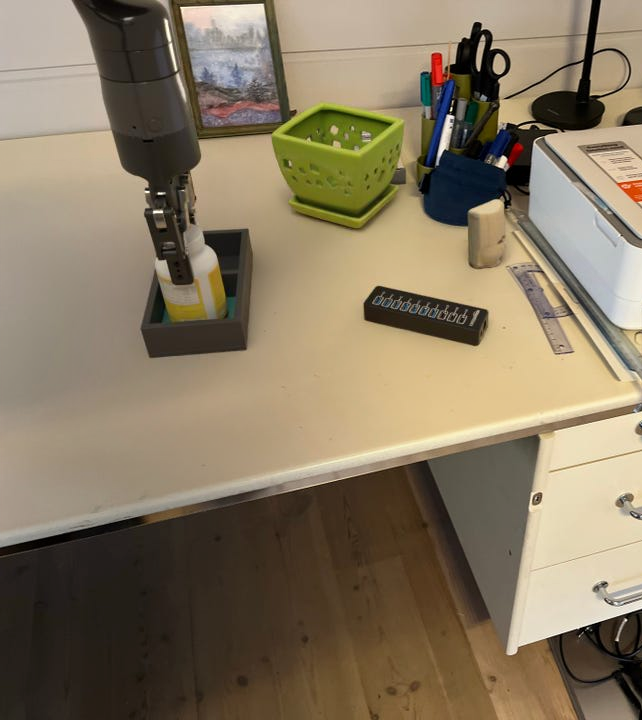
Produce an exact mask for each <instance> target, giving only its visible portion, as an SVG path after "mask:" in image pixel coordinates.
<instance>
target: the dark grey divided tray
mask: <svg viewBox="0 0 642 720" xmlns="http://www.w3.org/2000/svg"><path fill="white" fill-rule="evenodd" d="M202 232H203V236H204V241H205V245H207V246H209V247H210V248H211V249H213V251H214V252H215V254H216V256H217V259H218V264H219V268H220V273H221V278H222V283H223V287H224V292H225V296H226V301H227V306H228V311H229V315H228V318H222V319H209V320H195V321H182V322H171V321H170V318H169V315H168V311H167V308H166V304H165V301H164V297H163V294H162V290H161V287H160V283H159V280H158V276H157V273H156V269H155V268H154V271H153V276H152V280H151V284H150V288H149V293H148V297H147V301H146V305H145V308H144V309H145V310H144V313H143V317H142V322H141V324H140V333H141V335H142V339H143V342H144V344H145V349H146V351H147V355H148V357H149V359H151V358H163V357H176V356H188V355H199V354H210V353H211V354H212V353H223V352H237V351H247V348H248V347H247V346H248V332H249V331H248V330H249V319H250V317H249V316H250V303H251V288H252V275H253V274H252V272H253V261H254V259H253V258H254V254H253V253H254V252H253V247H252V242H251V237H250V230H249V228H248V227H247V228H230V229H211V230H202Z"/></svg>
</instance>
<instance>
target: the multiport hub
mask: <svg viewBox="0 0 642 720" xmlns="http://www.w3.org/2000/svg"><path fill="white" fill-rule="evenodd" d="M362 308H363V319H364V320H365V321H367V322H371V323H375V324H380V325H384V326H389V327H392V328H397V329H400V330H404V331H405V330H406V331H410V332H414V333H418V334H422V335H423V334H424V335H427V336H431V337H435V338H438V339H439V338H440V339H444V340H449V341H452V342H457V343H461V344H465V345H470V346H474V347H475V346H479V345H480V343H481V341H482V339H483V338H484V335H485V334H486V331H487V329H488V327H489V315H490V312H489V310H488V309H487V308H482V307H477V306H473V305H468V304H464V303H460V302H455V301H450V300H446V299H441V298H438V297H433V296H428V295H423V294H420V293H416V292H415V293H414V292H410V291H406V290H402V289H396V288H392V287H387V286H383V285H376V286H375V287H374V288H373V289H372V291H371V292H370V293H369V294H368V296H367V298H365V300H364V301H363V307H362Z"/></svg>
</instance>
